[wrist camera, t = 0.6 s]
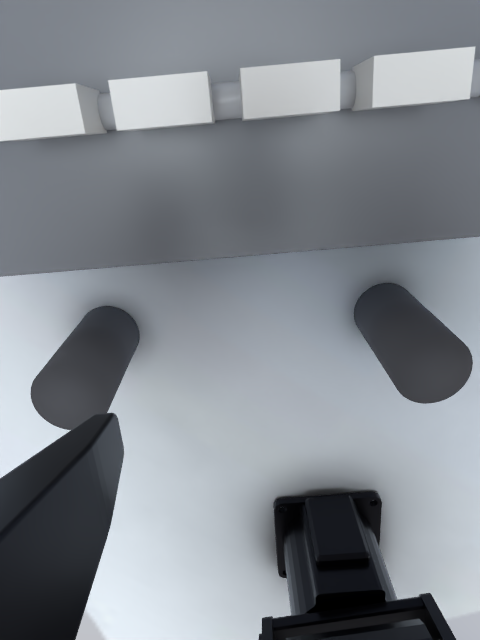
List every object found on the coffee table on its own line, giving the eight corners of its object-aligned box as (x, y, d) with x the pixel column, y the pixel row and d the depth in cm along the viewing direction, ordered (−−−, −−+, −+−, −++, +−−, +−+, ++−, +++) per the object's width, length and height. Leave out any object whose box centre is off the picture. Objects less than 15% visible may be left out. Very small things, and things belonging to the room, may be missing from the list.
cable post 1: (143, 356, 23) (115, 427, 18) (87, 361, 23) (41, 432, 18) (133, 303, 22) (100, 361, 17) (74, 308, 22) (21, 367, 17)
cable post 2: (411, 335, 23) (467, 400, 17) (353, 340, 23) (391, 406, 17) (415, 280, 22) (477, 331, 16) (354, 285, 22) (395, 337, 16)
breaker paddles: (468, 101, 17) (518, 94, 14) (-6, 143, 17) (-56, 146, 14) (472, 58, 16) (526, 41, 13) (-17, 102, 16) (-72, 96, 13)
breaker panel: (473, 225, 21) (522, 245, 17) (10, 264, 21) (-34, 291, 18) (514, -106, 16) (593, -172, 13) (-82, -47, 16) (-167, -95, 13)
